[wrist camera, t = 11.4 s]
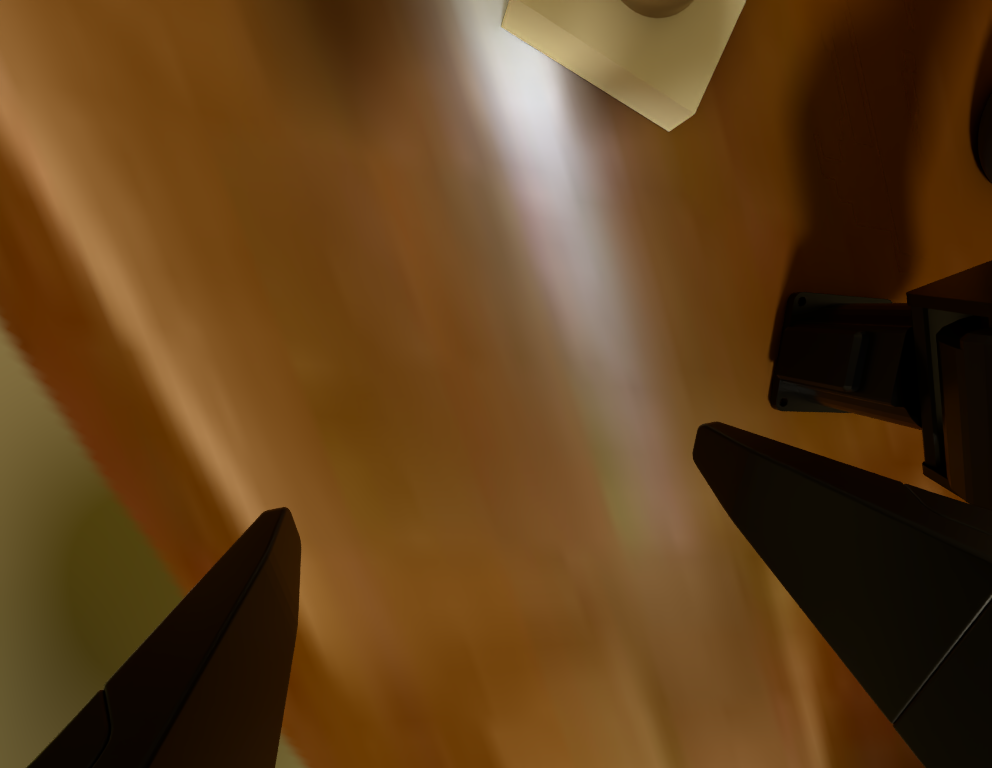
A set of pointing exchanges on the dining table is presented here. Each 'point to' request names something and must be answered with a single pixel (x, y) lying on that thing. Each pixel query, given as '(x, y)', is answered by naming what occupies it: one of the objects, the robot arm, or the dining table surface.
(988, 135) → the cola bottle
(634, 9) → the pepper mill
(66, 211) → the dining table surface
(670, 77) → the ceramic trivet
